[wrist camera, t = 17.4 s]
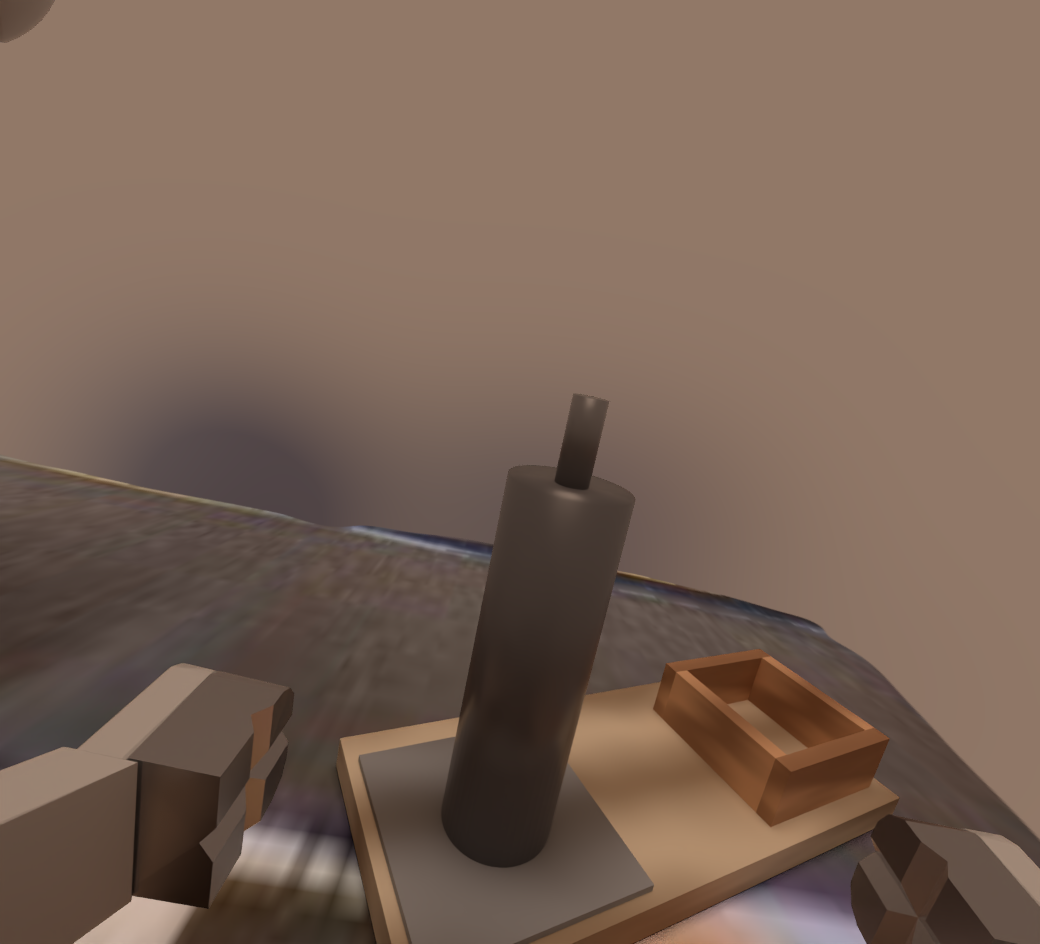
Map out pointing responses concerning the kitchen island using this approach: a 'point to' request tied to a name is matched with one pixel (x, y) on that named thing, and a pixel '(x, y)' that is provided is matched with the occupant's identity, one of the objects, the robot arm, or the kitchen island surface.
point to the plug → (535, 646)
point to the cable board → (623, 810)
